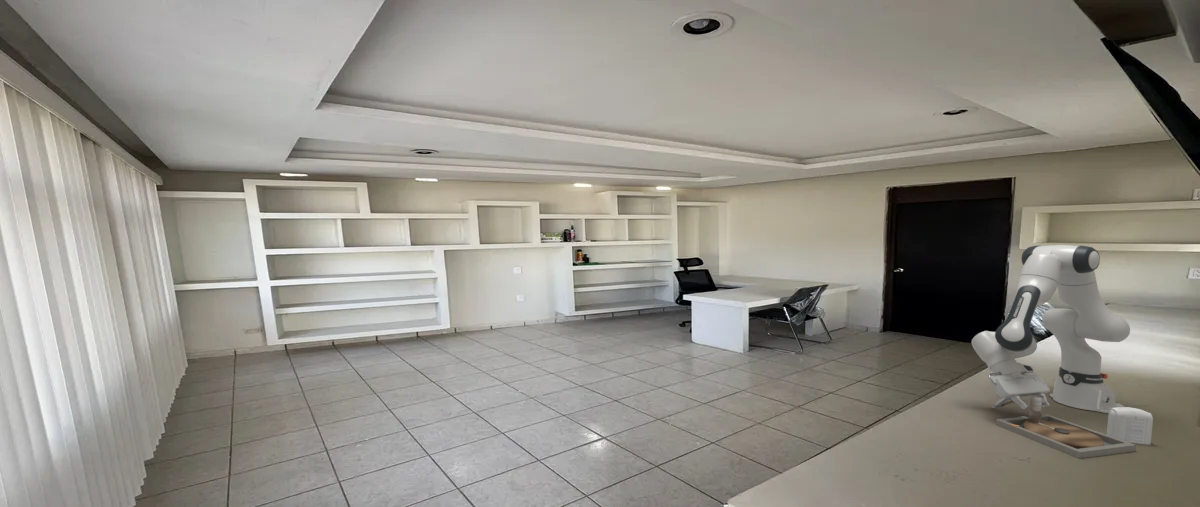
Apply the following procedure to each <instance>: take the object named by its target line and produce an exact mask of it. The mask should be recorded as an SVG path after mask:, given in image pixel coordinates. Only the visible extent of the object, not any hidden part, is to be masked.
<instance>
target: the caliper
mask: <svg viewBox="0 0 1200 507" xmlns="http://www.w3.org/2000/svg"><path fill="white" fill-rule="evenodd" d="M1007 401H1012V399H1011V398H1002V397H1001V399H999V400H998V401H996V402H995V403H993V405H992V406H991V409H993V408H994V409H995V408H1000V407H1001V406H1002V405H1003V404H1005V403H1006V402H1007Z"/></svg>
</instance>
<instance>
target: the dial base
mask: <svg viewBox="0 0 1200 507" xmlns="http://www.w3.org/2000/svg"><path fill="white" fill-rule="evenodd" d="M1027 420H1029V415H1026V416H1024V415H1021V416H1015V417H1005V418H996V419H995V426H998V427H1000V428H1003V429H1005V430H1007V431H1009V432H1012V433H1015V434H1017V435H1020V436H1021V437H1022V436H1023V437H1025V438H1027V439H1030V440H1032V441H1035V442H1038V443H1040V444H1042V445H1045V446H1047V447H1050V448H1052V449H1054V450H1057V451H1060V452H1061V453H1065V454H1067V455H1068V456H1069V455H1070V456H1072V457H1075V458H1077V459H1087V458H1095V457H1101V456H1108V455H1117V454H1124V453H1133V452H1136V451H1137V444H1136V443H1129V442H1126V441H1123V440H1120V439H1117V438H1115V437H1112V436H1109V435H1107V433H1106V434H1105V433H1103V432H1100V431H1097V430H1094V429H1091V428H1087V427H1085V426H1083V425H1080V424H1076V423H1073V422H1070V421H1068V420H1065V419H1062V418H1060V417H1056V416H1054V415H1051V414H1048V413H1046V414H1045V413H1043V414H1041V420H1044V421H1051V422H1057V423H1061V424H1066V425H1069V426H1073V427H1076V428H1080V429H1083V430H1085V431H1088V432H1090V433H1093V434H1095V435H1097V436H1098V437H1100V438H1101V439H1102V440H1103V441H1104V446H1097V447H1089V448H1081V449H1076V448H1073V447H1071V446H1068V445H1066V444H1063V443H1060V442H1058V441H1055V440H1053V439H1050V438H1048V437H1045V436H1042V435H1040V434H1037V433H1035V432H1032V431H1030V430H1027V429H1024V428H1023V423H1024V422H1025V421H1027Z"/></svg>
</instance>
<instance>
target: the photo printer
mask: <svg viewBox="0 0 1200 507" xmlns="http://www.w3.org/2000/svg"><path fill="white" fill-rule="evenodd" d="M1107 414H1108V415H1107V416H1108V417H1107V426H1106V435H1109V436H1112V437H1115V438H1117V439H1120V440H1123V441H1126V442H1129V443H1132V444H1138V445H1139V444H1140V445H1147V446H1149V445H1151V443H1152V433H1153V425H1154V423H1153V422H1154V418H1153V414H1152V413H1151V412H1148V411H1145V410H1143V409H1140V408H1135V407H1130V406H1128V407H1127V406H1124V407H1116V408H1111V409H1110V410H1109V413H1107Z"/></svg>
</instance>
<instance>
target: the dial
mask: <svg viewBox="0 0 1200 507" xmlns="http://www.w3.org/2000/svg"><path fill="white" fill-rule="evenodd" d="M1042 408H1043V407H1042V398H1040V397H1037V396H1029V408H1028V410H1029V412H1028V414H1029V415H1028V416H1029V420H1027V421H1025V422H1024V423H1023V428H1024V429H1027V430H1030V431H1032V432H1035V433H1037V434H1040V435H1042V436H1045V437H1048V438H1050V439H1053V440H1055V441H1058V442H1060V443H1063V444H1066V445H1068V446H1071V447H1073V448H1076V449H1081V448H1089V447H1097V446H1104V441H1103V440H1102V439H1101V438H1100V437H1098V436H1097V435H1095V434H1093V433H1090V432H1088V431H1085V430H1083V429H1080V428H1076V427H1073V426H1069V425H1066V424H1061V423H1057V422H1051V421H1044V420H1041V415H1042Z"/></svg>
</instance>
